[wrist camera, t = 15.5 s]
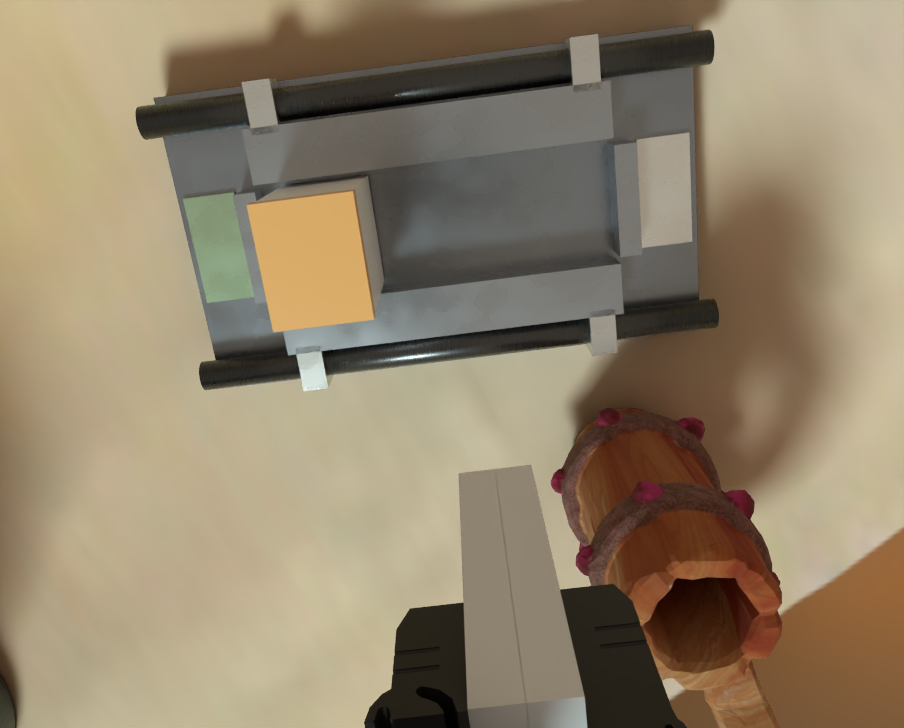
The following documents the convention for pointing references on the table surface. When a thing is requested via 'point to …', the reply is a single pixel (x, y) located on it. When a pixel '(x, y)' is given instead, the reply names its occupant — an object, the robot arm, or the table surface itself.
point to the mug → (676, 554)
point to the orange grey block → (318, 253)
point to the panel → (457, 201)
